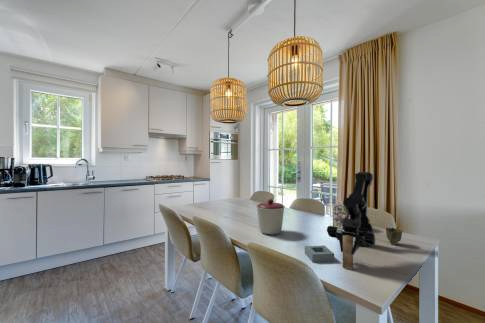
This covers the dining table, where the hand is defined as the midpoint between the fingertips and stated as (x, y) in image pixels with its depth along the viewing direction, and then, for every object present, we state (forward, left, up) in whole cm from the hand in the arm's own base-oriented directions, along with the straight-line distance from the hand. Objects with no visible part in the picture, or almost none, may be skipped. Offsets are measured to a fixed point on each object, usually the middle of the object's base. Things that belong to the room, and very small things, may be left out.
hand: (347, 252), depth 96 cm
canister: (-51, -22, -7) cm, 56 cm away
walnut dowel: (-1, +1, -7) cm, 7 cm away
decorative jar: (-57, +30, -7) cm, 65 cm away
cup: (-25, +40, -7) cm, 48 cm away
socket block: (-12, -7, -7) cm, 15 cm away
